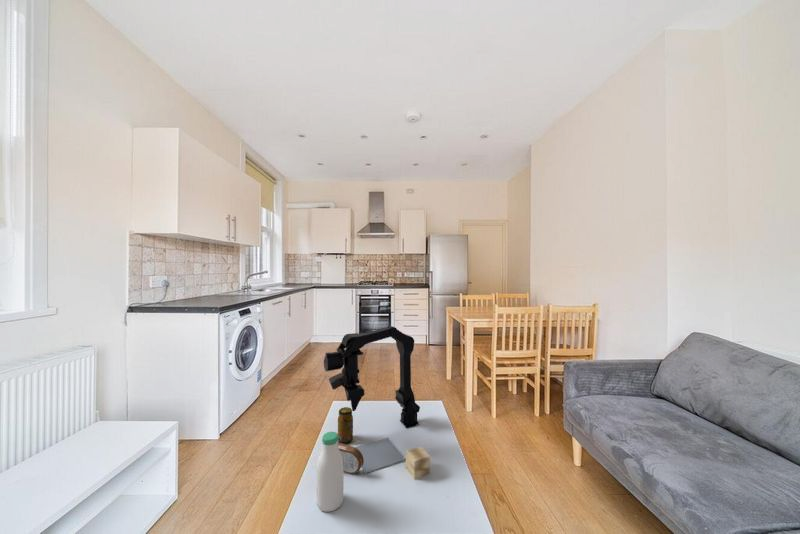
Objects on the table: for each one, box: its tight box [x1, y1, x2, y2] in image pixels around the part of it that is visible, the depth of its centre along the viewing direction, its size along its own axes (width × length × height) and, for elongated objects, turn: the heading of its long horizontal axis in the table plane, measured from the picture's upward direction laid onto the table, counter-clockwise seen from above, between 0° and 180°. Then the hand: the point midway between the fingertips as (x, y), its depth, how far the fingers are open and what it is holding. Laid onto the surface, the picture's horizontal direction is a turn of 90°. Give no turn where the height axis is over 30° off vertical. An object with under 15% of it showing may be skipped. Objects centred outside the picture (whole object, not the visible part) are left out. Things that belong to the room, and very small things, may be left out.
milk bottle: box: [316, 431, 344, 513], centre depth 88 cm, size 8×8×20 cm
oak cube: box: [405, 446, 431, 480], centre depth 102 cm, size 6×6×6 cm
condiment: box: [337, 406, 360, 446], centre depth 119 cm, size 7×8×12 cm
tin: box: [337, 443, 364, 475], centre depth 102 cm, size 15×3×8 cm, turn 71°
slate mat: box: [354, 437, 406, 475], centre depth 110 cm, size 15×15×1 cm
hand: (351, 405), depth 118 cm, fingers open, 9 cm apart
